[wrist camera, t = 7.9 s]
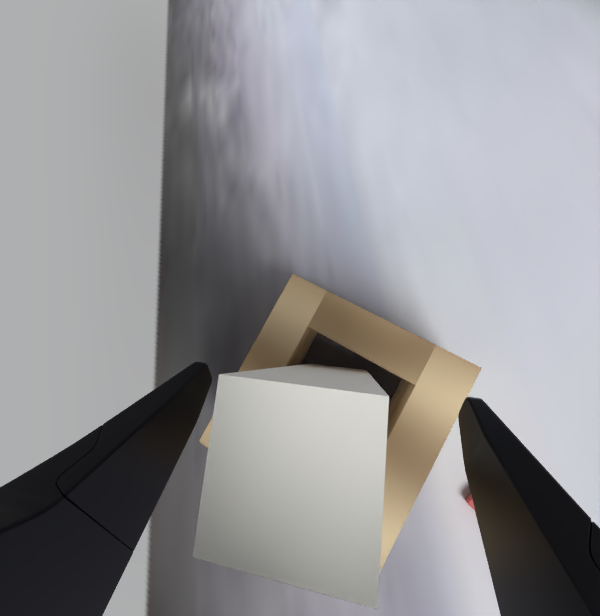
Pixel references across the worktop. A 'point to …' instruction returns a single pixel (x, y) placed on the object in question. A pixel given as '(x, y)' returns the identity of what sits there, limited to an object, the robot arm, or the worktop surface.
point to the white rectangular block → (297, 479)
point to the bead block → (391, 357)
